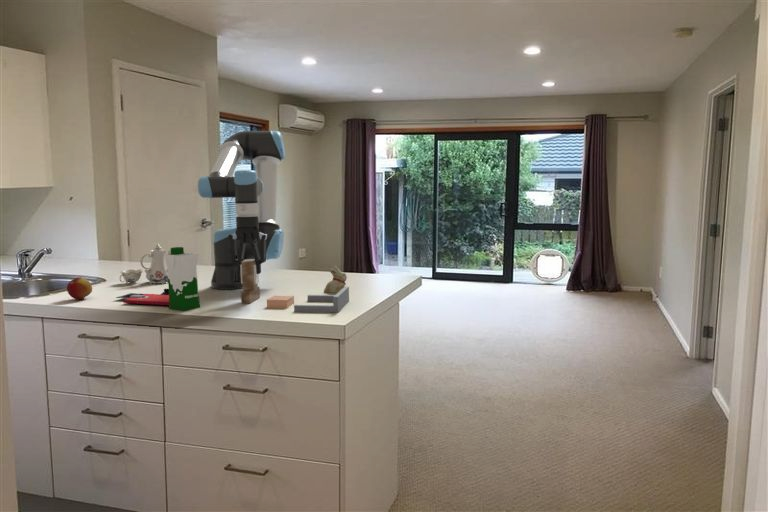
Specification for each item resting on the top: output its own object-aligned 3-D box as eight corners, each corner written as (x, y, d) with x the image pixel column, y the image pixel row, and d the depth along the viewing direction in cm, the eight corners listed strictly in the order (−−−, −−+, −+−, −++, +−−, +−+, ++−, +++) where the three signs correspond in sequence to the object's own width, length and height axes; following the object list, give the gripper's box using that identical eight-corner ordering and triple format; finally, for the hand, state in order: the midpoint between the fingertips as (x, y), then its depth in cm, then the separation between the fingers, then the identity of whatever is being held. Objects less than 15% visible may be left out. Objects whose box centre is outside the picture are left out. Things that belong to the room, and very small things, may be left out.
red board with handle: (134, 294, 224) (105, 303, 210) (134, 287, 224) (104, 295, 209) (205, 298, 216) (179, 307, 201) (204, 290, 215) (179, 298, 201)
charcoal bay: (294, 311, 193) (293, 296, 192) (308, 300, 210) (308, 286, 210) (338, 312, 191) (337, 297, 190) (349, 301, 208) (348, 286, 208)
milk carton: (186, 304, 207) (183, 246, 204) (204, 306, 202) (201, 247, 199) (164, 309, 199) (161, 248, 197) (183, 312, 195) (179, 250, 192)
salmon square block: (267, 308, 200) (266, 299, 199) (274, 304, 206) (274, 295, 206) (287, 309, 198) (287, 300, 198) (294, 304, 205) (293, 296, 205)
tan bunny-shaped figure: (343, 293, 223) (343, 266, 221) (323, 292, 224) (322, 266, 223) (347, 290, 228) (346, 264, 227) (327, 289, 230) (326, 263, 228)
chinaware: (174, 279, 270) (170, 242, 269) (197, 278, 260) (193, 240, 259) (115, 288, 248) (110, 248, 247) (137, 288, 238) (132, 246, 237)
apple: (68, 298, 219) (66, 276, 218) (93, 296, 223) (91, 275, 222) (67, 302, 213) (65, 279, 212) (92, 300, 216) (90, 278, 215)
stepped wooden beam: (240, 303, 207) (238, 262, 205) (250, 297, 216) (248, 258, 214) (251, 303, 206) (249, 262, 204) (261, 297, 216) (259, 258, 214)
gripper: (219, 216, 205) (222, 284, 208) (267, 216, 202) (270, 285, 206) (227, 215, 212) (230, 280, 215) (274, 214, 210) (277, 281, 213)
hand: (250, 282), depth 210 cm, fingers closed on stepped wooden beam, 4 cm apart
